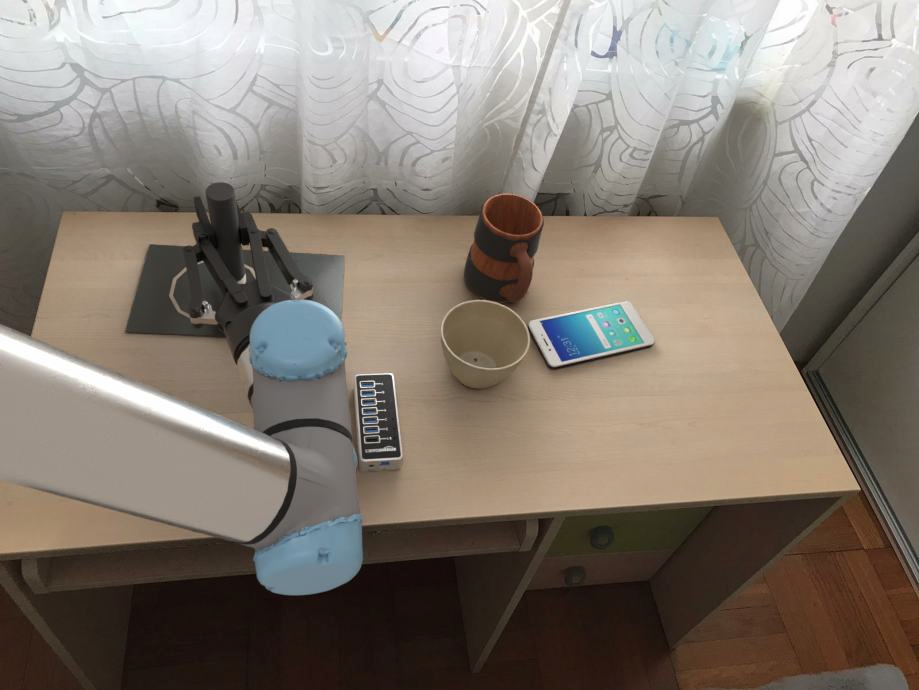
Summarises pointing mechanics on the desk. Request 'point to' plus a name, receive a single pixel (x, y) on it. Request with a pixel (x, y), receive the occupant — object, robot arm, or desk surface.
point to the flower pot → (483, 342)
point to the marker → (226, 228)
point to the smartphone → (590, 334)
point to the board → (216, 289)
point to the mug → (504, 248)
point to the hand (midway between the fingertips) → (214, 203)
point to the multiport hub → (377, 422)
